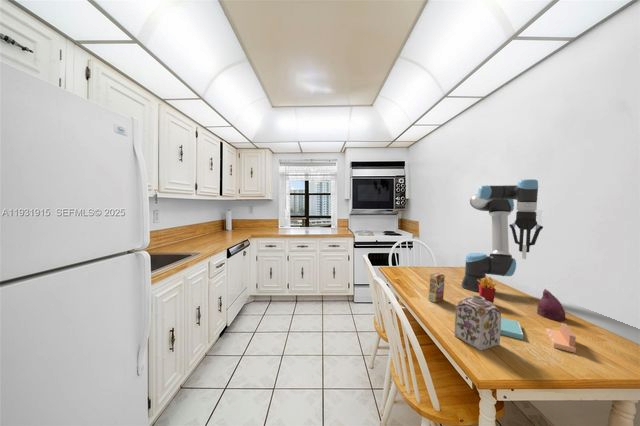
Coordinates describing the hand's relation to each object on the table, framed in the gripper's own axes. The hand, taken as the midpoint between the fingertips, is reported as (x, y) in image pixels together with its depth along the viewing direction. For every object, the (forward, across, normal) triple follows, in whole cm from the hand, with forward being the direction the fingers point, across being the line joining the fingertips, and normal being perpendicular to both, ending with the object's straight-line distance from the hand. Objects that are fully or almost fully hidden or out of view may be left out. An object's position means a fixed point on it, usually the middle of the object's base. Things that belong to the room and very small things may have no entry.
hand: (523, 258), depth 119 cm
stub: (+29, +10, -20) cm, 37 cm away
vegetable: (+30, +13, +10) cm, 34 cm away
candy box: (+30, -38, -3) cm, 48 cm away
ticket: (+29, -8, -20) cm, 36 cm away
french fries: (+30, -15, +9) cm, 34 cm away
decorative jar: (+30, -18, -39) cm, 52 cm away
